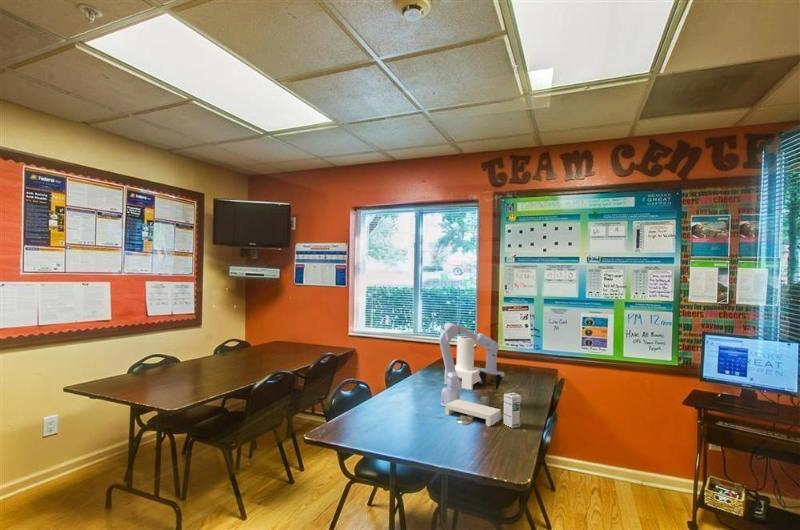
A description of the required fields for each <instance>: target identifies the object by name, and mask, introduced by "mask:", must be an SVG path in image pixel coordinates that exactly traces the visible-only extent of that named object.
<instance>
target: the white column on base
mask: <svg viewBox="0 0 800 530" xmlns="http://www.w3.org/2000/svg"><path fill="white" fill-rule="evenodd" d="M456 339H457V342H456V364H454V366H455V370H456V373H457V375H458V378H459V380H461V383H462V386H461V389H464V388H465V389H464V390H469V389H470V390H469V391H472V390H474V389H473V388H474V384H476V383H477V382H479V383H477V384H482V381H481V378H480V376H479V373H480V372H478V368H479V367H478V366H474V365H475V364H474V362H475V342H474V339H472V338H470V337H468V336H466V335H459V336H457V337H456ZM483 369H485V368H484V367H483ZM445 374H446V369H444V380H445V379H446V375H445ZM445 384H446V382H445V381H444V385H445Z"/></svg>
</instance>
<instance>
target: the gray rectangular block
mask: <svg viewBox="0 0 800 530" xmlns="http://www.w3.org/2000/svg"><path fill="white" fill-rule="evenodd" d="M489 398H490V396H486V395H482V396H480V405H484V406H488V407H490V406H489V401H490V399H489ZM473 417H474V418H475V417H476V416H472V415H468V414H467V415H460V417H459V419H460V418H464V419H468V420H469V423H473V422H472V421H474V420H473V419H474V418H473Z"/></svg>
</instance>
